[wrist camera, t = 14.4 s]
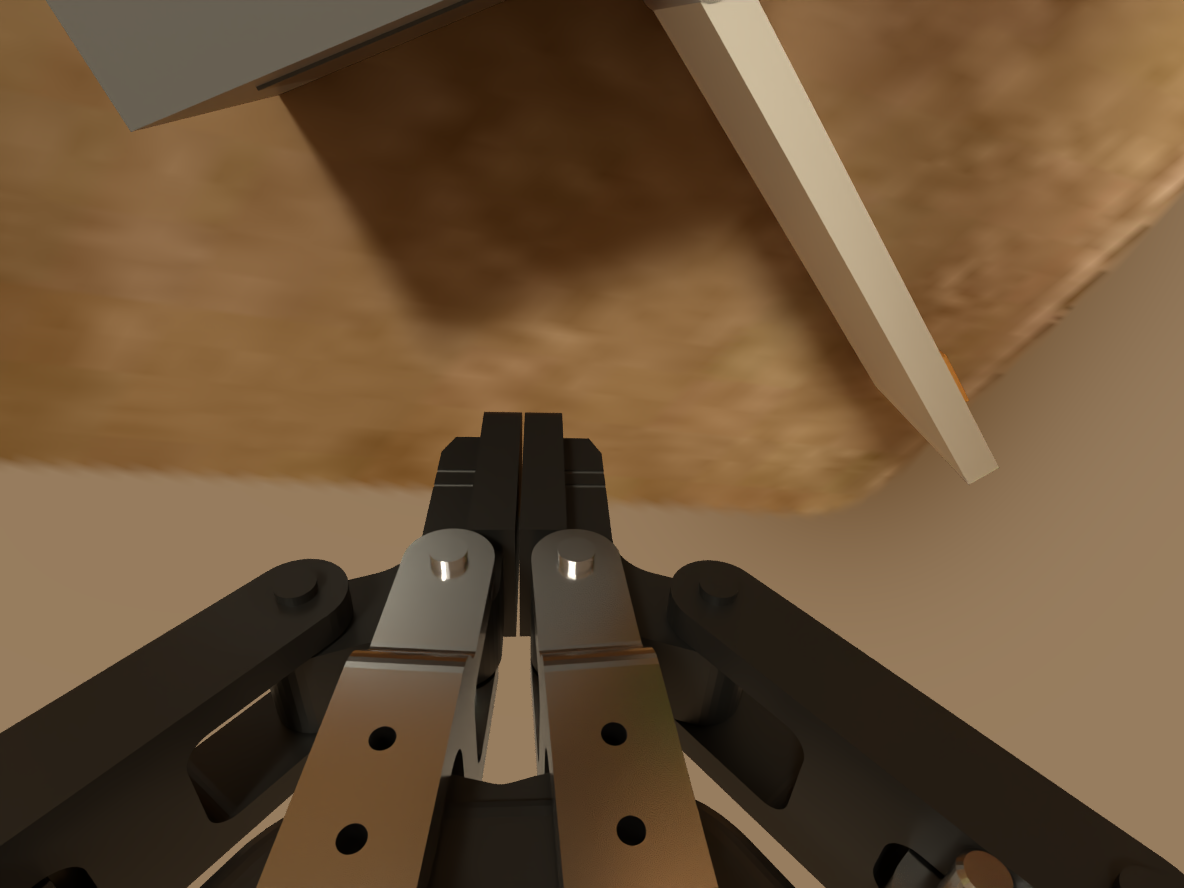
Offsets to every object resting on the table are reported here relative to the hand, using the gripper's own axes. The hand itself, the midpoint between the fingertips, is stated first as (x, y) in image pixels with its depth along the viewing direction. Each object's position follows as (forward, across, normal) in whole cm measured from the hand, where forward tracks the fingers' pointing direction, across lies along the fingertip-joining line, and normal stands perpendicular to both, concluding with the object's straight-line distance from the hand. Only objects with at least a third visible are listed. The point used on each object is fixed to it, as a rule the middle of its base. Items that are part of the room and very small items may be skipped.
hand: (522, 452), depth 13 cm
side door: (+13, -9, -2) cm, 16 cm away
